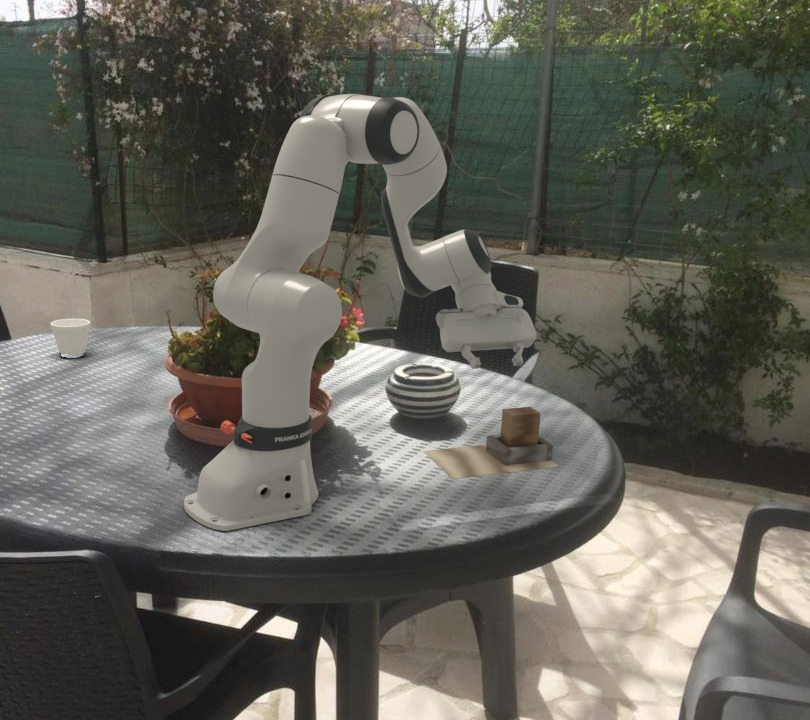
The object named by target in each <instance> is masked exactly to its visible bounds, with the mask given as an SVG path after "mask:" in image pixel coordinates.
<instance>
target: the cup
mask: <svg viewBox="0 0 810 720" xmlns="http://www.w3.org/2000/svg"><path fill="white" fill-rule="evenodd" d="M50 329H51V331H52V333H53V337H54V340H55V343H56V346H57V349H58V352H60V353H61V354H68V355H76V354H82V353H84V352H85V353H86V351H87V346H88V339H89V334H90V329H91V321H90V320H88V319H86V318H64V319H63V318H62V319H61V318H60V319H55V320H52V321H50ZM60 353H59V354H60Z"/></svg>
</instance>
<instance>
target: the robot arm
mask: <svg viewBox="0 0 810 720" xmlns="http://www.w3.org/2000/svg"><path fill="white" fill-rule="evenodd" d="M349 162H350V163H353V164H360V165H361V164H362V165H364V164H365V165H373V164H380V165H382V167H383V170H384V172H385V174H386V180H387V181H386V186H385V188H384V189H383V190H382V191H381V193H380V195H381V196H380V200H381V208H382V212H383V217H384V220H385V224H386V228H387V231H388V235H389V238H390V239H389V240H390V242H391V246H392V249H393V251H394V255H395V261H396V262H397V274H398V278H399V281H400V284H401V286H402V287H403V289H404V290H405V291H406V293H407V294H409V295H411V296H415V297H417V298H421V299H423V298H425V297H427V296H429V295H432V294H434V293H435V292H438V291H439V290H441V289H444V288H447V287H449V286H450V287H451V289H452V290H453V292H454V293H455V295H454V296H455V298H454V301H455V305H456V307H457V308H451V309H447V308H444V309H440V311H438V312H437V313H436V314H435V320H436V324H437V327H439V335H440V342H441V346H442V347H441V348H442V349H443V350H445V352H447V353H453V352H454V353H456V352H460V353H461V356H462V357H463V358H464V359H465V360H466V361H467V362H468V363H469V365H470V368H471V369H472V370H475V369H480V367H481V365H482V362H481V360H480V357H478V356H477V357H476V356H475V354H473V353H472V351H488V350H491V351H492V350H506V349H512V350H513V352H514V353H516V354H514V356H513V357H512V358H511V362H512V364H513V366H514V367H517V366H518V367H519V366H521V367H522V365H523V364H524V359H523V355H522V354H523V352H524V348H526V349H527V348H530V347H531V346H532V345H533V343H534V342H535V340H537V335H538V334H537V330H536V328H535V325H534V323H533V320H532V318H531V316H530V315H529V313H528V312H527V311H526V310H525V309H523V306H524V302H523V299H522V298H521V297H519V296H515V295H511V294H507V293H504V292H502V291H499V290H497V288H496V286H495V285H494V283H493V281H492V274H491V273H492V272H491V269H492V266H493V263H492V260H491V257H490V254H489V251H488V248H487V245H486V242H485V239H484V238H483V237H482V235H481V234H479V233H477V232H475V231H473V230H471V229H466V228H465V229H461V230H458V231H455V232H453V233H450V234H448V235H447V234H446V235H445V236H443V237H441V238H438V239H435V240H433V241H431V242H428V243H426V244H423V245H419V246H415V245H414V244H413V241H412V236H411V233H410V229H409V226H408V225H409V221H410V220H411V219H412V217H413V216H414V215H415V214H416V213H417V212H418V211H419V210H420V209H421V208H423V207H424V206H425V205H427V204H428V203H429V202H431V200H433V199H434V198H435V196H436V195H437V194H438V193H439V191H441V189H442V187H443V185H444V183H445V181H446V178H447V173H448V165H447V161H446V157H445V154H444V151H443V148H442V145H441V144H440V141H439V139H438V136H437V135H436V133H435V131H434V129H433V128H432V126H431V124H430V122H429V121H428V119H427V117H426V116H425V115H424V112H423V111H422V110H421V108H420V107H419V106H418V105H417V103H415V102H414V101H413V100H412V99H410V98H406V97H403V96H402V97H401V96H400V97H399V96H396V97H390V96H385V97H380V96H379V97H378V96H374V95H373V96H372V95H364V94H361V93H347V94H346V93H345V94H343V93H342V94H333V93H332V94H330V93H329V94H325V95H319V96H318V97H317V96H316V97H315V98H313V99H312V100H311V101H309V102H308V103H307V104H306V106H305V108H304V109H303V111H302V113H301V115H300V117H299V118H297V119H296V120H295V121H294V122H293V123H292V124H291V126H290V128H289V130H288V132H287V133H286V136H285V138H284V140H283V142H282V145H281V148H280V150H279V153H278V156H277V159H276V161H275V165H274V168H273V172H272V175H271V179H270V182H269V186H268V190H267V194H266V198H265V202H264V205H263V208H262V211H261V212H262V213H261V215H260V219H259V221H258V224H257V226H256V228H255V230H254V232H253V234H252V236H251V237H250V240H249V242H248V243H247V245H246V246H245V248H244V249H243V251H242V253H241V254H240V256H239V257H238V258H237V259H236V260H235V261H234V262H233V264H231V265H229V267H227V268H226V269H224V270H223V271H222V272H221V273H220V274H219V275H218V277H217V279H216V281H215V284H214V286H213V293H212V297H213V298H212V299H213V303H214V306H215V308H216V310H217V311H218V312H219V314H220V315H221V316H223V317H224V318H225V319H226V320H228V321H229V322H230V323H232V324H233V325H235V326H236V327H239V328H241V329H242V330H243V329H244V330H247V331H249V332H253V333H257V334H258V335H259V339H260V340H259V347H258V350H257V355H256V357H255V360H254V361H252V362H251V363H249V364H248V365H247V366H246V367H244V369H243V372H242V375H241V405H242V406H241V408H242V409H241V411H242V415H241V416H240V418H239V420H238V422H237V425H236V424H235V423H232V422H231V421H229V420H224V421H223V422H222V423H221V424H220V430H221V432H223V433H225V434H226V435H229V436H232V435H233V436H232V441H231V442H229V444H228V445H226V446H225V447H224V448H223V449H222V450H221V451H220V452H219V453H218V454H217V455H216V456H215V457H214V458H213V459H212V460H210V461H209V462H208V463H207V464H205V465H204V466H203V468H202V469H201V471H200V474H199V477H198V483H197V484H198V485H197V489H196V490H197V491H195V492H193V493H191V494H188V495H186V496H185V497H184V499H183V508H184V510H185V513H187V514H188V516H189V517H190V518H192V520H195V521H196V522H197V523H199V524H201V525H203V526H205V527H208V528H210V529H213V530H218V531H223V532H227V531H233V530H239V529H243V528H249V527H253V526H254V527H255V526H257V525H263V524H269V523H273V522H279V521H282V520H287V519H293V518H297V517H298V518H299V517H302V516H308V515H310V514H312V508H313V507H312V506H313V505H314V503H315V502H316V501H317V500H318V498H319V496H320V495H319V491H318V487H317V484H316V481H315V476H314V475H315V474H314V470H313V463H312V453H311V443H312V437H313V422H312V421H313V419H312V416H311V414H310V399H311V398H310V397H311V396H310V395H311V379H312V378H311V376H312V372H313V371H312V370H313V368H314V367H313V366H314V362H315V360H316V357H317V354H318V353H319V351H320V348H321V347H322V346H323V345H324V344H325V343H326V342H327V341H329V340H330V339H331V338H332V337H333V336H334V335H335V334H336V332H337V331H338V328H339V326H340V324H341V321H342V315H343V307H342V301H341V298H340V296H339V294H338V292H337V291H336V290H335V289H334V288H333V287H332V286H330V285H329V284H327V283H325V282H324V281H322V280H320V279H318V278H317V277H314V276H312V275H308V274H305V273H301V272H300V271H301V269H302V267H303V265H304V264H305V262H306V261H307V259H308V258H309V257H310V255H312V253H314V252H315V251H316V250H319V249H320V248H322V247H323V246H324V245H325V244H326V242H327V241H328V239H329V237H330V233H331V230H332V229H331V228H332V225H333V221H334V217H335V213H336V209H337V206H338V203H339V202H338V201H339V198H340V193H341V189H342V186H343V182H344V181H343V180H344V175H345V168H346V166H347V165H348V163H349Z"/></svg>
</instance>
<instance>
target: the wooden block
mask: <svg viewBox="0 0 810 720" xmlns="http://www.w3.org/2000/svg"><path fill="white" fill-rule="evenodd" d="M501 410H502V412H501V414H502V415H501V426H500V428H501V429H500V435H501V438H500V442H502V443H503V444H504V445H506V446H507V447H508V448H511V447H521V446H530V445H538V438H539V437H540V436H539V435H540V423H541V412H539V411H538V410H536V409H535V408H533V407H532V406H525V407H524V406H522V407H513V408H511V407H510V408H502V409H501Z"/></svg>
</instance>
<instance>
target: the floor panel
mask: <svg viewBox="0 0 810 720" xmlns="http://www.w3.org/2000/svg"><path fill="white" fill-rule="evenodd" d="M500 438H501V434H495V435H494V434H493V435H486V443H485V444H481V445H480V444H478V445H469V446H468V445H467V446H460V447H459V446H458V447H451V448H440V449H439V448H438V449H431V450H423V451H422V452H423V453H424V454H425V455H426V456H428V458H429V459H430V460H432V461H433V463H435V464H436V465H437V466H438V467H439V468H440V469H441V470H442V471H443V472H444V473H445V474H446V475H447V476H448V477H449V478H450V479H452V480H454V479H456V480H457V479H464V478H465V479H466V478H473V477H481V476H490V475H499V474H507V473H508V474H509V473H515V472H524V471H525V472H526V471H531V470H541V469H550V468H558V467H560V465H559V464H558V463H556V462H555V461H553V460H552V459H553V447H554V445H553V444H551V443H550V442H548V441H547V440H545V439H544V438H542V437H541V436H539V438H538V445H530V446H521V447H511V448H508V447H507V446H506V445H504V444H503V443H502V442H500Z"/></svg>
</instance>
